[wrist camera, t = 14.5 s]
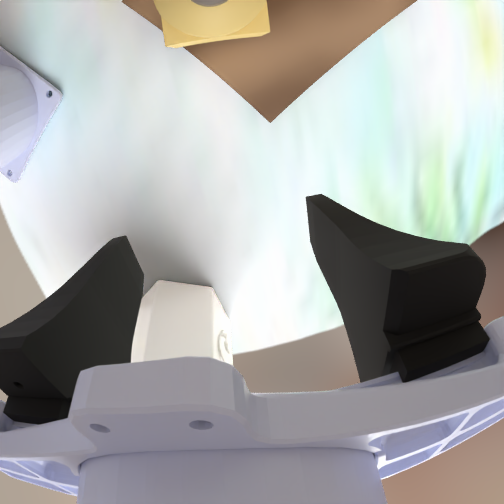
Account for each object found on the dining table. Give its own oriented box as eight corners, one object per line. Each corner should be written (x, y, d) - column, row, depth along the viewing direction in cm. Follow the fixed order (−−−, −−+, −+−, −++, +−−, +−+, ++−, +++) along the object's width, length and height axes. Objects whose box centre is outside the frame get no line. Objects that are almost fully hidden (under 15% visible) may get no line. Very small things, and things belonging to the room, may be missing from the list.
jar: (240, 334, 31) (251, 451, 21) (164, 352, 31) (156, 460, 21) (205, 264, 25) (202, 401, 16) (118, 290, 26) (85, 414, 16)
